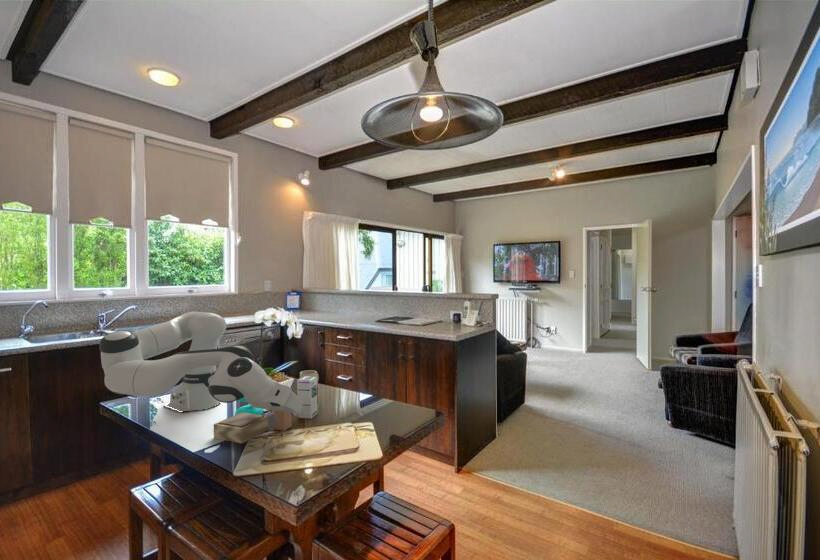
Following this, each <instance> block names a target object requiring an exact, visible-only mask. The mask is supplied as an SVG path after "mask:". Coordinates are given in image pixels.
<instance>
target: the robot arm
mask: <svg viewBox="0 0 820 560" xmlns="http://www.w3.org/2000/svg"><path fill="white" fill-rule="evenodd" d="M226 330H227V321H226V320H225V318H224V317H222V316H221V315H219V314H217V313H214V312H205V311H194V310H193V311H189V312H185V313H183V314H181V315H178V316H175V317H174V318H172V319H170V320H167V321H165V322H161V323H158V324H155V325H154V324H153V325H152V326H151V325H150V326H148V327H144V328H141V329H139V330H135V331H130V330H124V329H123V330H117V331H111V332H109V333H107V334H105V335H104V336H103V337H102V338H101V339H100V341H99V351H100V360H101V361H100V362H101V368H102V370H103V372H104V377H103V379H104V380H103V381H104V386H105V387H106V388H107V390H109V391H110V392H112V393H114V394H117V395H128V396H136V397H137V396H138V397H157V396H162V395H164V394H166V393H168V392H169V391H171V393H170V397H169V401H170V403H169V404H168V405H167V406H169V407H172V408H174V409H177V410H179V411H190V410H199V411H204V410H203V409H205V410H208V408H209V409H212V408H211V407H213V406H215V405H217V404H219V403H220V402H221V403H222V404H223V403H224V404H226V403H233V402H237V401H238V400H239V399H242V398H244V396H246V397H245V399H246V401H247V402H246V403H248V405H251V406H252V407H255V408H261V409H263V410H266V411H267V412H269V413H271V414H275V411H282V412H289V413H291V415H292V417H298V413H299V412H300V410H301V408H302V406H303V403H302V401H301V400H300V399H299V397H298V394H297V393H295V392H293V391H292V387H290V386H289V385H285V384H283V383H281V382H278V381H276V380H273V379H272V377H270V376H269V375H267V373H266V371H265V370H264V369H263V367H261V366H260V365H259V364H258V363H257V362H255V357H254V355H253V353H252V351H251V350H250V349H249V348H248V347H246V346H244V345H231V346H227V347H223V348H218V346H219V342H220V339H221V338H222V336H223V335H224V334H225V332H226ZM190 340H191V344H190V347H189V349H188V350H186V351H179V352H176V353H173V354H172V355H171V356H168V357H163V358H160V359H154V360H152V359H151V360H147V359H149V358H152V357H155V356H158V355H161V354H164V353H167V352H170V351H173V350H176V349H177V348H179V347H180V345H183V344H184V343H186V342H188V341H190ZM181 380H182V382H180V384H179V385H177V384H178V383H179V381H181ZM176 385H177V386H176ZM175 386H176V387H175ZM174 387H175V388H174ZM173 388H174V389H173ZM221 403H220V404H221ZM220 404H219V405H220ZM215 407H216V406H215ZM213 408H214V407H213ZM190 412H191V411H190Z"/></svg>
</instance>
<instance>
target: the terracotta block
mask: <svg viewBox="0 0 820 560" xmlns="http://www.w3.org/2000/svg"><path fill="white" fill-rule="evenodd" d="M292 427H293V416H292V415H291V413H289V412H282V411H275V413H274V430H279V431H287V430H288V429H290V428H292Z"/></svg>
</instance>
